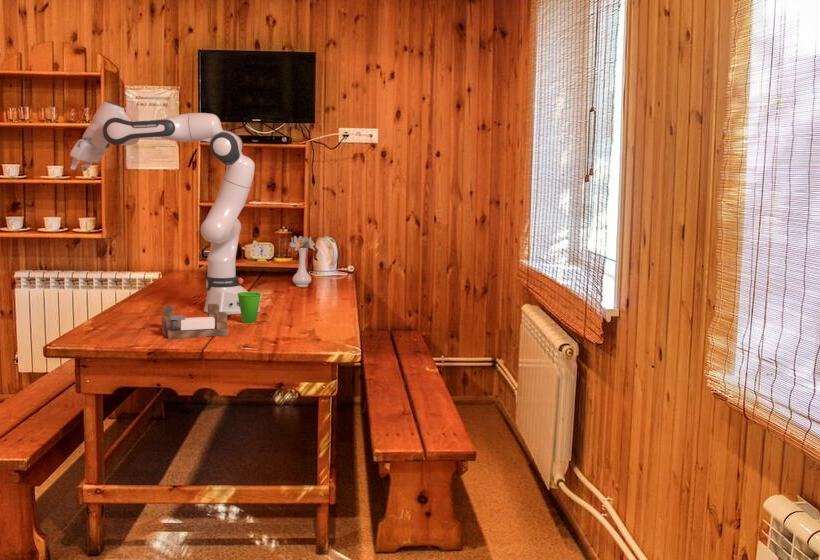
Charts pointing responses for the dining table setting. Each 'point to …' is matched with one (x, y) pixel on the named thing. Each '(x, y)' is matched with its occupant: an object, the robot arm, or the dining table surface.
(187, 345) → the dining table surface
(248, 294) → the cup
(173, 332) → the stool board
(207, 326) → the hinged leg
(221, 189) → the robot arm
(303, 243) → the flower vase
